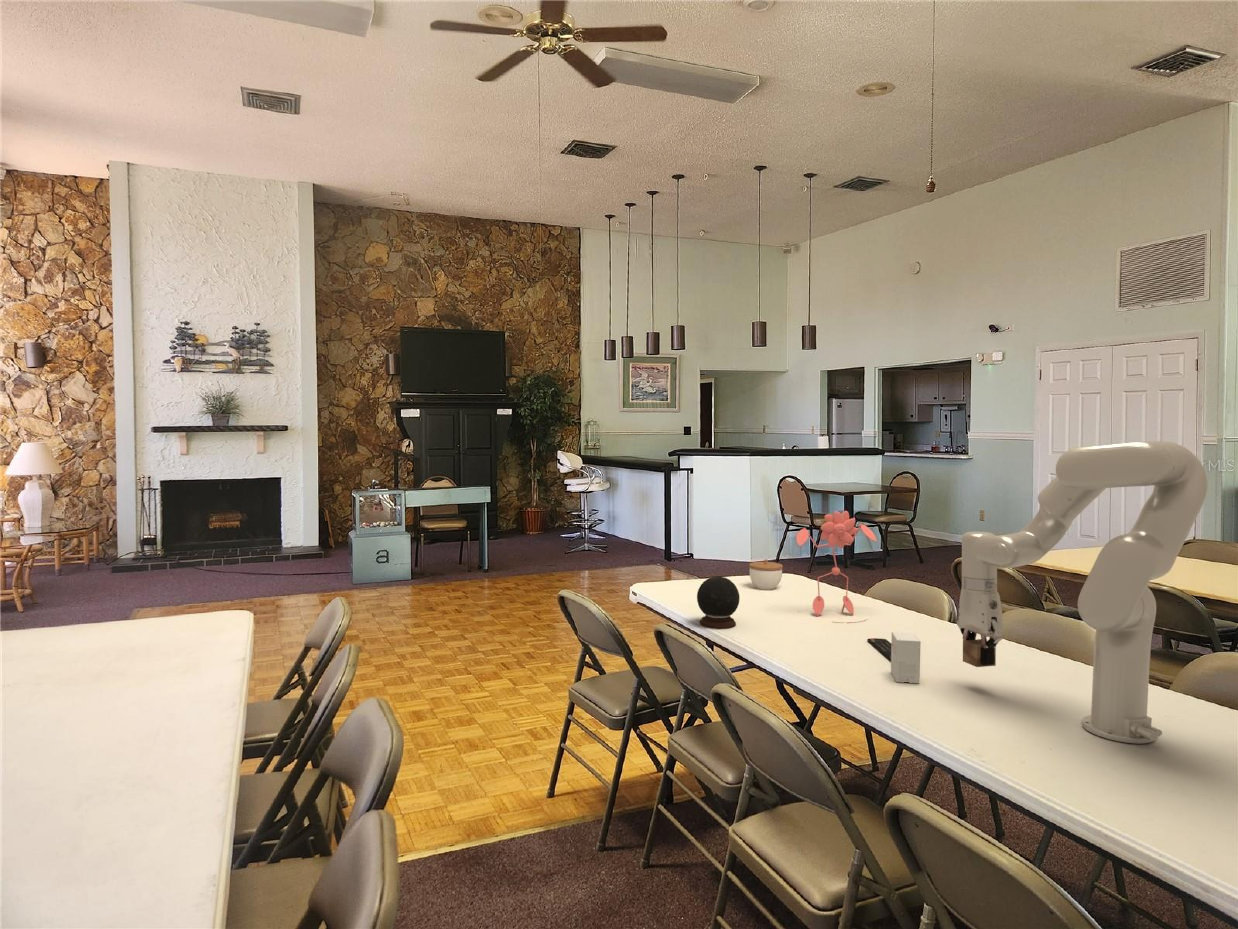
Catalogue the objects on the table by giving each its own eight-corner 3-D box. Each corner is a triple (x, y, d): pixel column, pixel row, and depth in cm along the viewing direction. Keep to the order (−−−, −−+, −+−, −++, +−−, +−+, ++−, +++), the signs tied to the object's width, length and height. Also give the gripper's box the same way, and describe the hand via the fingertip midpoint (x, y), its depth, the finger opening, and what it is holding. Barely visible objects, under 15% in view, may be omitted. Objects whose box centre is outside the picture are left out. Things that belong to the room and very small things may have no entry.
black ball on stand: (699, 630, 228) (700, 581, 228) (693, 618, 241) (694, 572, 241) (742, 630, 229) (743, 581, 228) (734, 619, 242) (735, 572, 241)
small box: (919, 684, 182) (921, 641, 181) (895, 682, 183) (896, 639, 183) (913, 673, 190) (915, 632, 189) (890, 672, 191) (891, 631, 190)
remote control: (896, 669, 195) (896, 664, 195) (866, 642, 219) (866, 638, 219) (916, 669, 195) (917, 664, 195) (884, 643, 219) (885, 638, 219)
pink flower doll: (790, 611, 252) (794, 507, 250) (864, 611, 255) (869, 508, 252) (805, 624, 237) (809, 514, 234) (884, 624, 239) (889, 514, 237)
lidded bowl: (763, 583, 298) (763, 555, 298) (788, 588, 289) (789, 560, 288) (741, 587, 290) (742, 558, 290) (767, 593, 281) (768, 563, 280)
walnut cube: (995, 665, 176) (995, 644, 176) (976, 667, 175) (977, 645, 175) (981, 659, 181) (981, 639, 181) (962, 661, 180) (962, 640, 180)
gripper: (1019, 590, 170) (1019, 670, 171) (969, 577, 187) (968, 650, 187) (990, 591, 169) (990, 672, 169) (942, 579, 185) (942, 652, 186)
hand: (979, 660), depth 178 cm, fingers closed on walnut cube, 4 cm apart
